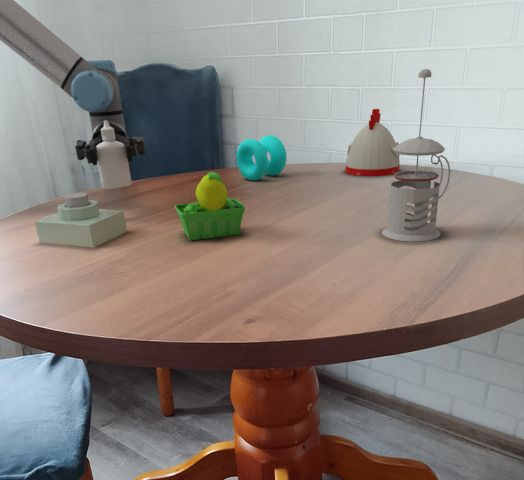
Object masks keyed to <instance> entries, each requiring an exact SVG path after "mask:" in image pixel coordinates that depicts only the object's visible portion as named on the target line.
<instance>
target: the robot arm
mask: <svg viewBox="0 0 524 480" xmlns="http://www.w3.org/2000/svg"><path fill="white" fill-rule="evenodd" d="M0 42H2V43H3V44H4V45H6V47H8V48H9V49H11V51H13V52H15V54H17V55H18V56H19V57H21V58H22V59H23V60H25V61H26V62H27V63H28V64H29V65H31V66H32V67H34V68H35V69H36V70H37V71H39V72H40V73H41V74H43V75H44V76H45V77H46V78H48V79H49V80H50V81H51V82H53V83H54V84H55V85H56V86H58V87H59V88H60V89H61V90H62V91H64V92H65V93H66V94H67V95H68V96H69V97H71V98H72V100H73V101H74V102H75V104H76V105H77V106H78V108H80V109H82V110H83V111H84V112H85V111H86V112H88V116H89V121H90V124H91V125H90V126H91V131H92V138H91V139H90V140H89V142H88V143H87V141H86V140H82V139H77V140H76V141H75V142H76V145H75V146H74V149H75V152H76V157H77V161H83V160H87V164H90V165H91V164H92V166H98V161H97V156H96V146H97V145H98V144H100V143H102V142H103V141H104V140H102V135H101V129H102V128H103V127H104V121H108V123H109V125H110V127H112V128H114V132H115V138H116V139H115V140H116V141H118V142H121V143H123V144H124V145H125V147H126V152H127V159H128V163H133V157H136V156H137V155H141V156H144V155H146V153H147V152H146V147H145V140H144V139H143V135H141V134H138V135H136V136H133V137H130V136H128V135H127V131H126V125H125V118H124V112H123V107H122V101H121V95H120V87H119V80H118V79H119V77H118V73H117V69H116V64H115V63H114V61H113V60H111V59H99V60H98V59H97V60H86V59H85V58H84V57H83V56H82V55H80V54H79V53H78V52H76V51H75V50H74V49H73V48H72V47H70V45H69V44H67V43H66V42H65V41H64V40H62V39H61V38H60V37H59V36H58V35H56V34H55V33H54V32H53V31H51V30H50V29H49V28H48V27H47V26H45V25H44V24H43V22H41V21H39V19H37V18H36V17H34V15H32V13H30V12H28V11H27V10H26V9H25V8H24V7H23V6H21V5H20V4H19V3H18V2H16V1H15V0H0Z"/></svg>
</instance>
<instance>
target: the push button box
mask: <svg viewBox="0 0 524 480" xmlns="http://www.w3.org/2000/svg"><path fill="white" fill-rule="evenodd" d="M88 200H89V205H87V206H83V207H76V208H67V207H66V204H65V202H63V203H60V204H58V205H57V206H56V210H57V212H56V213H52V214H50V215H47V216H44V217H42V218H38V219H35V220H34V225H35V228H36V233H37V236H38V240H39V244H48V245H49V244H51V245H58V246H59V245H60V246H71V247H79V248H81V247H82V248H91V249H94V248H97V247H98V246H100V245H103V244H105V243H107V242H109V241H111V240H113V239H115V238H118V237H119V236H122V235H124V234H126V233H128V228H127V223H126V222H127V221H126V218H125V217H126V216H125V211H124V210H122V209H121V210H119V209H105V208H100V206H99V202H98V201H97V200H93V199H88Z"/></svg>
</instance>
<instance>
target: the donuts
mask: <svg viewBox="0 0 524 480" xmlns="http://www.w3.org/2000/svg"><path fill="white" fill-rule="evenodd" d="M268 153H269V156H270V157H269V158H268ZM235 157H236V158H235V159H236V165H237V168H238V171H239V172H240V174H241V175H242V176H243V177H244V178H245V179H247V180H249V181H257V180H260V179H261V178H263V177H264V176H265V175H267V176H271V177H274V176H277V175H279V174H281V173H282V172H283V170H284V168H285V167H286V164H287V150H286V148H285V144H284V143H283V142H282V140H281V139H280V138H278V137H277V136H275V135H272V134H270V135H265V136H263V137H262V138H260V139H259V140H256V139H254V138H246V139H244V140H243V141H242V142H240V144H239V145H238V147H237V149H236V154H235ZM253 157H254V160H253Z"/></svg>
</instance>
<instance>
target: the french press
mask: <svg viewBox="0 0 524 480" xmlns="http://www.w3.org/2000/svg"><path fill="white" fill-rule="evenodd" d="M417 78H418V79H423V83H422V84H423V85H422V95H421V108H420V117H419V129H418V132H419V133H418V136H416V137H415V138H409V139H406V140H404V141H402V142H400V143H398V145H397V146H395V147H394V148H393V151H394V153H396V154H400V155H401V156H413V157H414V156H415V157H416V163H415V164H416V165H415V169H411V170H400V171H399V172H396V173H395V174H393V177H394V179H396V180H395V181H393V182H391V184H390V193H389V197H390V201H389V209H388V214H389V215H388V223H387V226H386V227H385V228H384V229H383V230H382V231H381V233H382V236H384V237H386V238H387V239H391V240H394V241H400V242H427V241H432V240H435V239H438V238H439V237H440V236H441V235H442V234H441V232H440V230H439V229H438V228H437V227H436V225H437V224H436V223H437V217H438V208H439V207H438V206H439V200H440V199H441V198H442V197H443V196H444V194H445V193H446V191H447V189H448V187H449V184H450V179H451V178H450V177H451V167H450V162H449V160H448V159H447V157H446V156H444V155H443V153H444V151H445V150H446V148H445V147H444V145H442V144H441V143H440V142H439V141H437V140H433V139H432V138H424V137H423V136H421V133H422V132H421V131H422V120H423V112H424V111H423V109H424V100H425V99H424V98H425V88H426V87H425V86H426V80H427V78H432V70H431V69H429V68H423V69H421V70H420V71H419V72H418V76H417ZM439 154H440V155H439ZM420 156H422V157H423V156H430V163H431V164H432V165H436V166H437V165H439V163H440V169H441V171H440V172H441V173H440V175H439V173H438V172H435V171H433V170H423V169H422V170H421V169H418V167H419V166H418V165H419V157H420ZM433 157H436V158H437V162H434V161H433ZM441 158H442V159H444V161H445V163H446V164H447V168H448V175H447V182H446V185H445V188H444V190H443V192H442V193H441V194H440V188H441V185H442V182H443V178H444V177H443V176H444V166H443V162H442V160H441ZM439 177H440V180H439V182H437V181H434V180H437V179H438V178H439ZM432 181H433V187H431V185H432ZM402 187H409V188H402ZM407 203H409V204H413V205H414V206H412V205H407ZM430 205H431V207H429V206H430ZM429 213H430V215H428V214H429ZM428 221H429V222H428Z"/></svg>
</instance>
